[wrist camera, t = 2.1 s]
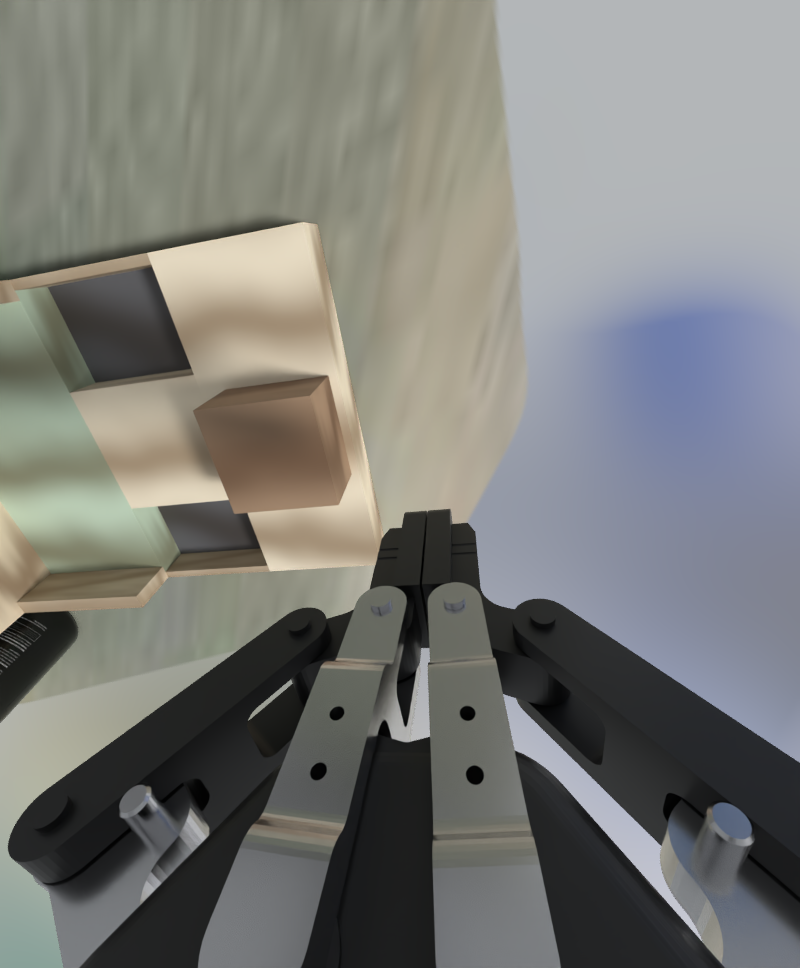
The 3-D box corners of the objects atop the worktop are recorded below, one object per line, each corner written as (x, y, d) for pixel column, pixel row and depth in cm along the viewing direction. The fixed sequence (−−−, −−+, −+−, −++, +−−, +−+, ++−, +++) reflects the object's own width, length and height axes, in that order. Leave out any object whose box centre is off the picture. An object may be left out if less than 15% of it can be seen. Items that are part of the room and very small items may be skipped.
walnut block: (225, 389, 24) (192, 410, 21) (328, 375, 23) (309, 395, 20) (258, 483, 27) (234, 513, 24) (351, 474, 26) (338, 505, 23)
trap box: (-106, 306, 26) (-292, 327, 19) (317, 224, 22) (261, 215, 15) (66, 563, 35) (-20, 635, 29) (385, 542, 31) (368, 621, 24)
